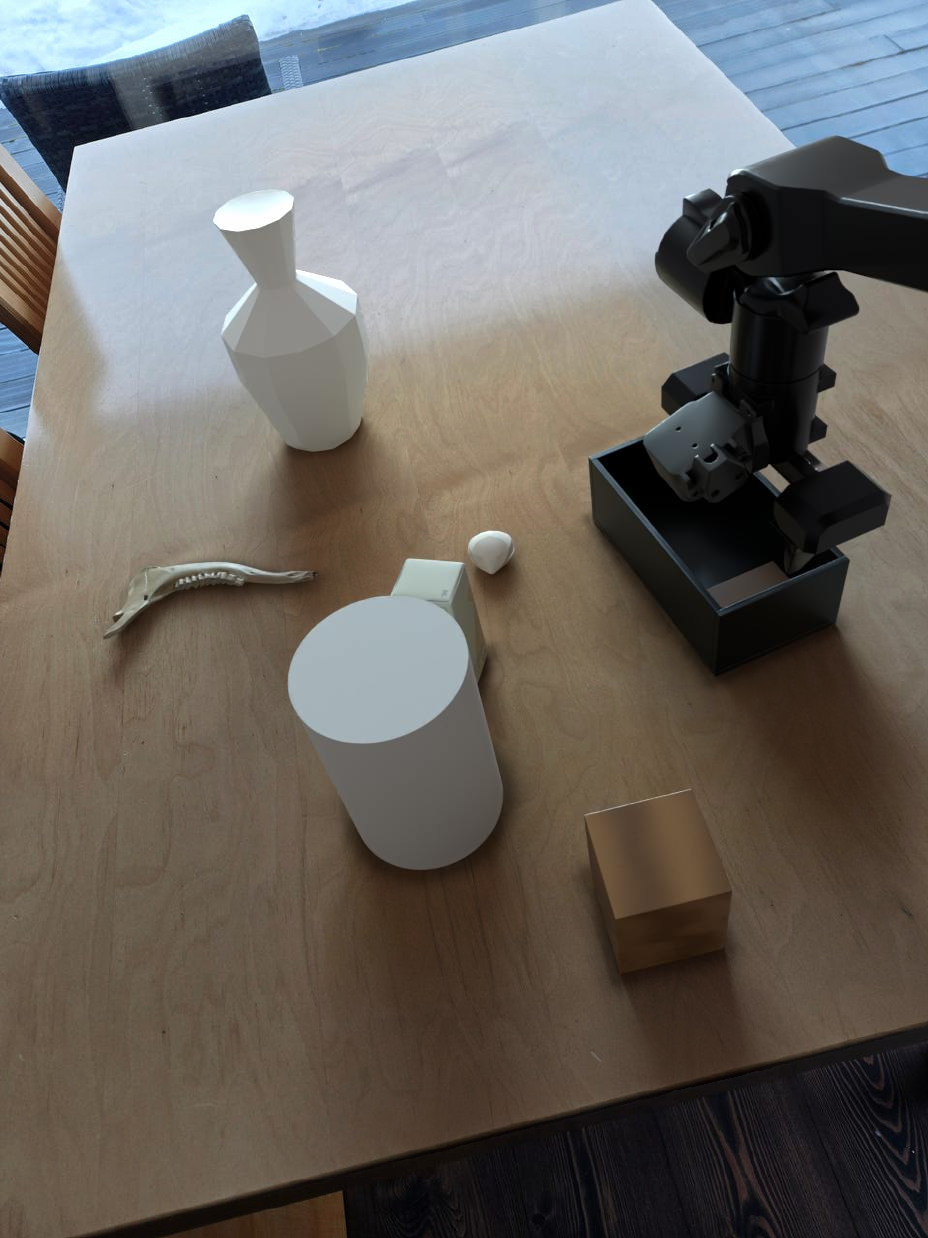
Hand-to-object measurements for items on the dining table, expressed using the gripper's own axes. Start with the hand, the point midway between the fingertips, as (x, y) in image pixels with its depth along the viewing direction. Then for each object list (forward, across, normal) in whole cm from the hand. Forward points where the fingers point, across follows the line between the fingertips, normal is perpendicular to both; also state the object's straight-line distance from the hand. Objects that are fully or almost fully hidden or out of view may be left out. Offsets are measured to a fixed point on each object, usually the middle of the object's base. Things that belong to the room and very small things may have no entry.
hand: (756, 532), depth 70 cm
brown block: (+9, 0, 0) cm, 9 cm away
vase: (+10, -45, -24) cm, 52 cm away
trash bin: (+10, -6, 0) cm, 12 cm away
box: (+10, -7, -24) cm, 27 cm away
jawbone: (+10, -25, -42) cm, 50 cm away
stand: (+10, +19, -19) cm, 29 cm away
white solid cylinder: (+10, +4, -30) cm, 32 cm away
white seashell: (+10, -16, -16) cm, 25 cm away
